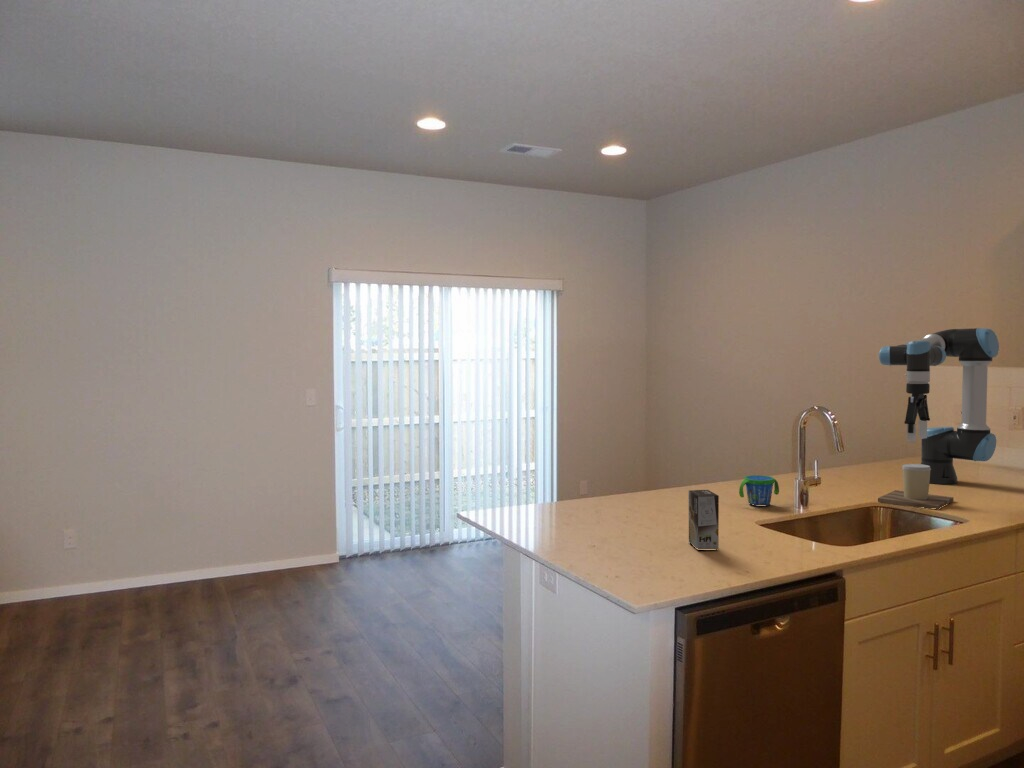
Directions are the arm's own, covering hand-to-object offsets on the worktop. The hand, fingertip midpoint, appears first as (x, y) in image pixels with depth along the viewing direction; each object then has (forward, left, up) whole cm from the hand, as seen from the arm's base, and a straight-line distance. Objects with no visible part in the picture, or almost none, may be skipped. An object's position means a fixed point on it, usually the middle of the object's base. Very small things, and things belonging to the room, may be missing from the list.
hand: (917, 440), depth 270 cm
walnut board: (0, 0, -23) cm, 23 cm away
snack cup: (+44, -40, -23) cm, 64 cm away
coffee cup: (0, 0, -22) cm, 22 cm away
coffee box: (+108, -26, -23) cm, 114 cm away
